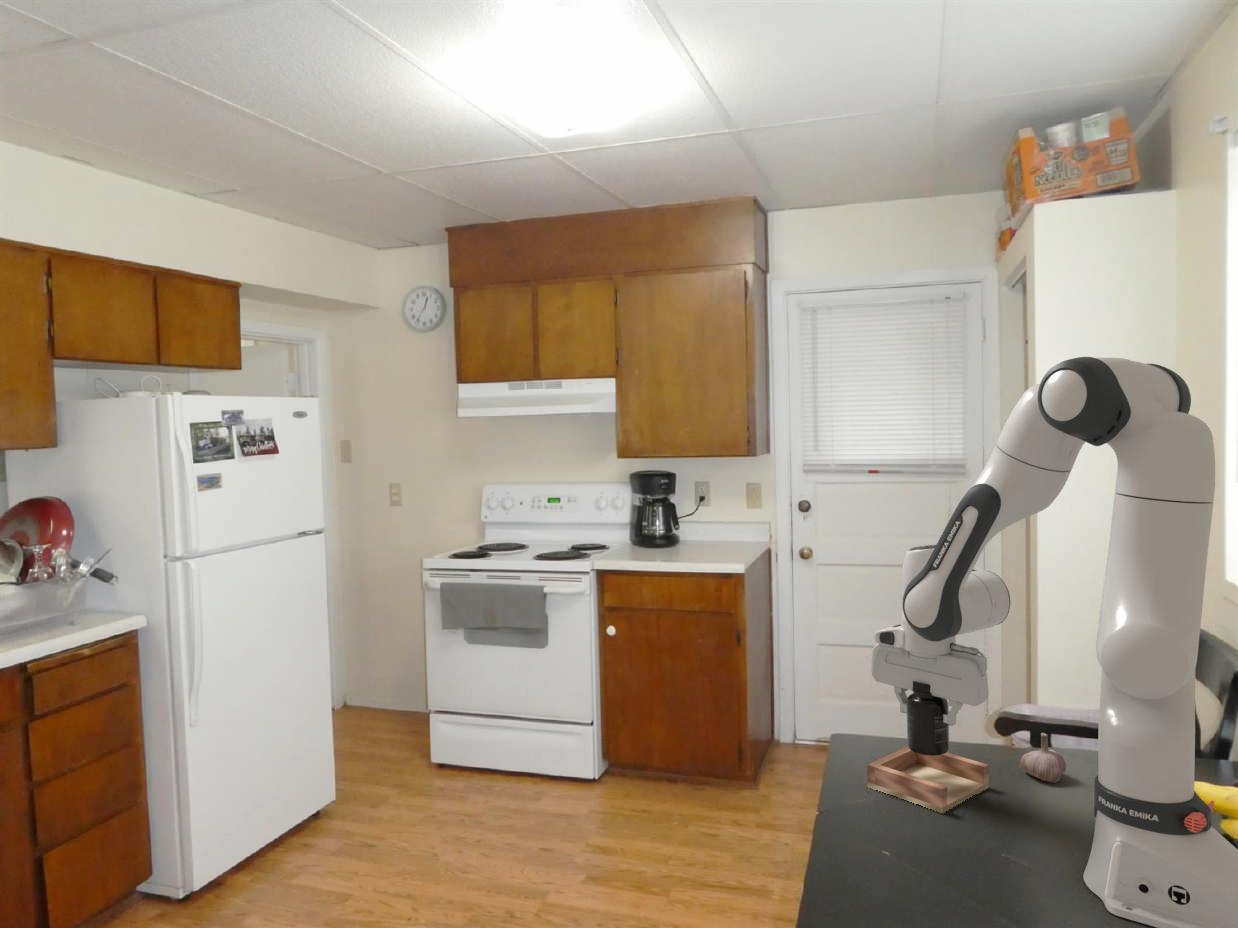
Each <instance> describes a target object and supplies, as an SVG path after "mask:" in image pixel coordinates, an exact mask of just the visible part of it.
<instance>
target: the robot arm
mask: <svg viewBox="0 0 1238 928" xmlns="http://www.w3.org/2000/svg"><path fill="white" fill-rule="evenodd" d="M1191 404H1192V396H1191V391H1190V388H1189V386H1188V384H1187V382H1186V381H1185V379H1183V378H1182V377H1181V375H1179V374H1178V373H1177V372H1175V371H1173V370H1171V369H1170V368H1167V367H1166V366H1163V365H1160V364H1157V363H1144V362H1140V361H1135V360H1132V359H1131V360H1130V359H1127V358H1123V357H1091V356H1078V357H1073V358H1069V359H1066V360H1064V361H1060V362H1059V363H1057V364H1055V365H1053V366H1052V367H1051V368H1050V369H1049V370H1048V371H1046V373H1045V374H1044V376H1043V377H1042V379H1041V381H1040V383H1037V384H1034V385H1032V386H1031V387H1029V388H1027V389H1026V390H1025V391H1024V392H1023V393H1022V395H1021V396H1020V398H1019V399H1018V401H1017V403H1016V404H1015V406H1014V407H1013V408H1012V411H1011V412H1010V414H1009V416H1008V418H1007V420H1006V421H1005V423H1004V425H1003V427H1002V429H1001V431H1000V434H999V436H998V438H997V441H996V442H995V446H994V447H993V450H992V452H991V454H990V456H989V458H988V460H987V462H986V464H985V466H984V467H983V469H982V471H981V472H980V475H979V476H978V477H977V479H976V480H975V482H974V483H973V484H972V486H971V487H970V488H969V489H968V491H967V492H966V493H965V494H964V496H963V497H962V498H961V500H960V501H959V503H958V504H957V506H956V508H955V509H954V511H953V513H952V515H951V517H950V518H949V520H948V522H947V524H946V525H945V528H944V529H943V532H942V534H941V536H939V540H938V541H937V543H936V544H930V545H929V544H928V545H921V546H915V547H914V546H913V547H911V548H909V549H908V550H906V553H905V554H904V559H903V562H902V569H901V582H900V583H901V587H900V591H901V600H902V614H901V618H900V624H896V625H894V626H888V627H884V628H882V629H879V630H877V631H875V632H874V640H875V642H876V644H875V645H874V647H873V649H872V655H871V669H870V670H871V676H872V677H873V679H874V681H875V682H877V683H880V684H881V683H882V684H885V685H889V686H893V692H894V695H895V696H896V698H897V700H898V702H899V712H900V713H902V714H906V715H907V698H908V695H907V693H906V692H907V691H912V688H913V681H916V682H920V683H925V684H929V685H930V693H932V696H936V697H940V698H944V699H947V701H948V706H949V707H951V708H950V710H949V712H947V713H945V714H943V719H944V720H943V724H946V725H949V727H950V726H951V727H953V726H955V725H956V723H957V715H958V714H959V713H960V711H961V709H962V708H963V706H964V704H965V705H969V706H973V707H975V706H976V707H977V706H979V705H982V704H984V703H985V702H987V700H988V699H989V683H988V682H989V681H988V676H987V671H988V660H987V657H986V656H985V655H984V653H983V652H981V651H980V650H979V648H977V647H972V646H965V645H963V644H957V643H956V642H957V641H956V640H957V635H963V634H969V633H973V632H974V633H975V632H977V631H978V632H979V631H981V630H986V629H991V628H993V627H995V626H998V625H1000V624H1002V623H1003V622H1005V620H1006V618H1008V615H1009V612H1010V609H1011V596H1010V592H1009V591H1010V590H1009V589H1008V587H1007V585H1006V583H1005V582H1004V580H1003V579H1002V578H1001V577H1000V576H999V575H998V574H997V573H994V572H993V571H989V570H985V569H983V568H980V567H979V566H976V564H977V563H978V561H979V559H980V557H981V554H982V553H983V551H984V549H985V548H986V546H987V545H988V543H989V542H990V541H991V540H992V539H993V538H994V537H995V536H996V535H998V534H999V533H1000V532H1002V531H1003V530H1005V529H1006V528H1008V527H1009V526H1011V525H1014V524H1015V523H1018V522H1019V521H1022V520H1024V519H1026V518H1029V517H1031V516H1033V515H1036V514H1038V513H1040V512H1042V511H1044V510H1045V509H1047V508H1048V507H1050V506H1051V505H1052V504H1053V502H1054V501H1055V500H1056V498H1057V497H1058V496H1059V495H1060V493H1061V492H1062V490H1063V488H1064V487H1065V485H1066V483H1067V481H1068V479H1069V477H1070V475H1071V471H1072V470H1073V468H1074V465H1075V463H1076V460H1077V458H1078V455H1079V454H1080V451H1081V450H1082V447H1083V446H1084V445H1085V443H1087V444H1090V445H1092V446H1093V447H1101V446H1102V445H1105V444H1106V445H1109V447H1110V448H1111V449H1112V450H1113V451H1114V453H1115V456H1116V460H1117V472H1116V480H1115V488H1114V496H1113V506H1112V515H1111V516H1112V517H1111V524H1110V525H1111V526H1110V532H1109V533H1110V534H1109V543H1108V552H1107V559H1106V567H1105V573H1104V581H1103V587H1102V593H1101V594H1102V595H1101V603H1100V612H1099V619H1098V626H1097V633H1096V642H1095V643H1096V644H1095V651H1096V652H1095V654H1096V660H1097V661H1098V664H1099V666H1100V668H1101V670H1100V671H1101V675H1100V677H1101V678H1100V693H1099V695H1100V696H1099V697H1100V698H1099V708H1098V709H1099V710H1098V711H1099V712H1098V730H1097V731H1098V733H1097V734H1098V738H1097V739H1098V741H1097V742H1098V745H1097V749H1098V751H1097V753H1098V755H1097V757H1098V759H1097V762H1098V763H1097V766H1098V767H1097V774H1096V776H1095V778H1094V787H1093V791H1092V792H1093V793H1092V802H1093V803H1092V805H1093V815H1094V817H1095V825H1094V826H1095V827H1094V834H1093V839H1092V844H1091V849H1090V850H1091V851H1090V853H1089V857H1088V861H1087V864H1086V867H1085V870H1084V872H1083V875H1082V876H1083V882H1084V883H1085V885H1086V886H1087V888H1088V889H1089V890H1091V892H1092V893H1094V894H1095V895H1096V896H1097V897H1099V898H1100V900H1101V901H1102V902H1103V904H1104V906H1105V909H1107V911H1108V912H1109V913H1111V914H1113V915H1114V916H1117V917H1120V918H1124V919H1127V920H1130V921H1134V922H1137V923H1141V924H1144V925H1147V926H1151V927H1155V928H1238V848H1237V847H1236V846H1234V845H1233V844H1232V843H1231V842H1230V841H1228V839H1226V838H1225V837H1224V836H1223V835H1222V834H1221V833H1219V832H1218V831H1217V830H1216V829H1215V828H1214V827H1213V826H1212V821H1213V820H1212V818H1213V817H1212V813H1213V812H1214V811H1215V800H1211V801H1210V802H1209V803H1208V804H1207V803H1206V802H1205V801H1204V800H1203V799H1202V798H1201V797H1200V796H1199V795H1198V793H1197V792H1196V791H1195V770H1196V769H1195V765H1196V764H1195V759H1196V756H1195V754H1196V753H1195V752H1196V669H1197V664H1198V656H1199V644H1200V635H1201V626H1202V625H1201V624H1202V617H1203V616H1202V615H1203V606H1204V594H1205V585H1206V582H1205V581H1206V573H1207V572H1206V571H1207V562H1208V552H1209V544H1210V535H1211V526H1212V519H1213V509H1214V501H1215V493H1216V490H1215V489H1216V457H1215V445H1214V437H1213V433H1212V431H1211V428H1210V427H1209V425H1208V424H1207V423H1206V422H1205V421H1203V420H1202V419H1200V418H1198V417H1196V416H1195V415H1192V414H1189V413H1190V409H1191V406H1192V405H1191Z"/></svg>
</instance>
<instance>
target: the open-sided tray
mask: <svg viewBox="0 0 1238 928" xmlns="http://www.w3.org/2000/svg"><path fill="white" fill-rule="evenodd" d="M866 766H867V769H866V775H867V776H866V777H867V780H866V782H867V785H866V786H867V787H868V789H870V788H871V790H873V791H876V790H878V791H877V792H879V791H881V792H880V793H882V792H884V793H886V794H885V795H887V794H890V795H893V796H896V797H898V798H897V799H899V798H900V799H899V800H901V799H904V800H907V801H909V802H908V803H910V802H912V803H911V804H913V803H914V804H913V805H916V804H919V805H921V806H923V807H922V808H924V807H926V808H925V809H927V808H928V809H927V810H930V809H932V810H931V811H933V810H934V812H936V811H937V812H936V813H938V812H939V814H941V813H943V814H945V813H946V811H947V812H948V811H950V810H953V807H954V806H955V807H957V806H958V804H959V805H961V804H963V803H964V802H966V801H967V800H966V799H968V800H970V799H971V798H973V797H974V796H973V795H975V794H977V795H978V794H981V793H982V792H984V791H986V790H988V789H989V786H990V785H989V780H990V779H989V777H990V775H989V774H990V773H989V771H990V768H989V767H990V766H989V764H987V763H985V762H980V761H977V760H974V759H970V758H968V757H967V758H966V757H962V756H960V755H957V754H953V753H951V752H950V753H949V752H947V753H945V754H943V755H938V756H927V755H921V754H917V753H915V752H913V751H911V750H910V749H909V747H908V746H905V747H903V748H900V749H899V750H897V751H893V753H890V754H888V755H886V756H884V757H881V758H879V759H877V760H874V761H872V762H871V763H868V764H867V765H866ZM867 787H866V788H867ZM983 790H984V791H983ZM981 791H982V792H981ZM884 793H883V794H884ZM890 795H889V796H890ZM893 796H892V797H893ZM972 796H973V797H972ZM975 796H976V795H975ZM896 797H895V798H896ZM970 797H971V798H970ZM969 798H970V799H969ZM904 800H903V801H904ZM965 800H966V801H965ZM907 801H906V802H907ZM963 801H964V802H963ZM962 802H963V803H962ZM960 803H961V804H960ZM956 805H957V806H956ZM921 806H920V807H921ZM955 807H954V808H955ZM949 809H950V810H949Z"/></svg>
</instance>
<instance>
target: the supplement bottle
mask: <svg viewBox="0 0 1238 928" xmlns="http://www.w3.org/2000/svg"><path fill="white" fill-rule="evenodd" d="M911 692H913V693H910V694H909V695H907V714H906V734H907V735H906V738H907V739H906V740H907V741H906V743H907V747H909V749H910V750H911V751H913V752H915V753H917V754H921V755H927V756H938V755H943V754H945V753H949V751H950V726H949V725H946V724H943V720H944V719H943V714H945V713H947V712H949V711H950V710H949V707H950V706H949V700H948V699H944V698H940V697H936V696H932V693H930V685H929V684H925V683H920V682H916V681H913V688H912V690H911Z"/></svg>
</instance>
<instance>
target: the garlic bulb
mask: <svg viewBox="0 0 1238 928" xmlns="http://www.w3.org/2000/svg"><path fill="white" fill-rule="evenodd" d="M1048 738H1049V735H1048V734H1046V733H1045V732H1041V733H1040V750H1031V751H1029V752H1027V753H1024V754H1023V755H1022V756H1021V758H1020V762H1019V763H1020V767H1021V769H1022V771H1024V772H1025V773H1027V774H1028V775H1030V776H1032V777H1035V778H1037V779H1040V780H1042V781H1044V782H1049V783H1052V784H1057V783H1058V782H1059V781H1060V780H1061V776H1062V775H1063V774H1064V773H1065V772H1066V770H1067V763H1066V760H1065V759H1064V757H1063V756H1062V755H1061V754H1060V753H1059V752H1057V751H1055V750H1054V749H1049V742H1048V741H1049V739H1048Z"/></svg>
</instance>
